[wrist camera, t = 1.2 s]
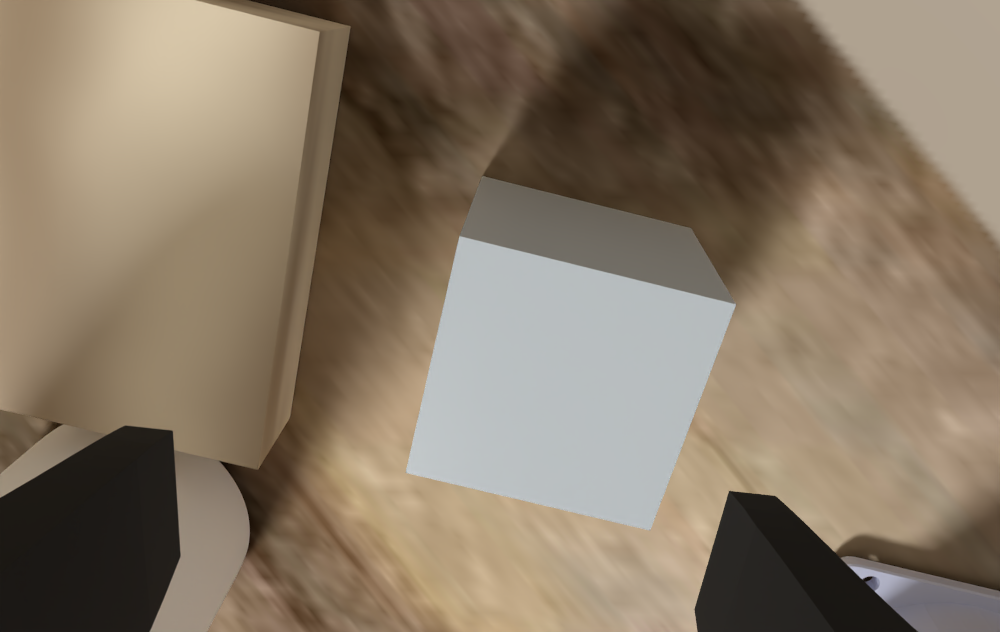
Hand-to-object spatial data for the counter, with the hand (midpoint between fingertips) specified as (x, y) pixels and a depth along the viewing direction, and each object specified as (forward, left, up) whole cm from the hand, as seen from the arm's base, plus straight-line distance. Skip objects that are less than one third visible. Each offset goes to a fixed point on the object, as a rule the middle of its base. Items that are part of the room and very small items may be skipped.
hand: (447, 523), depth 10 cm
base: (+9, 0, -10) cm, 13 cm away
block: (-2, 0, -10) cm, 10 cm away
